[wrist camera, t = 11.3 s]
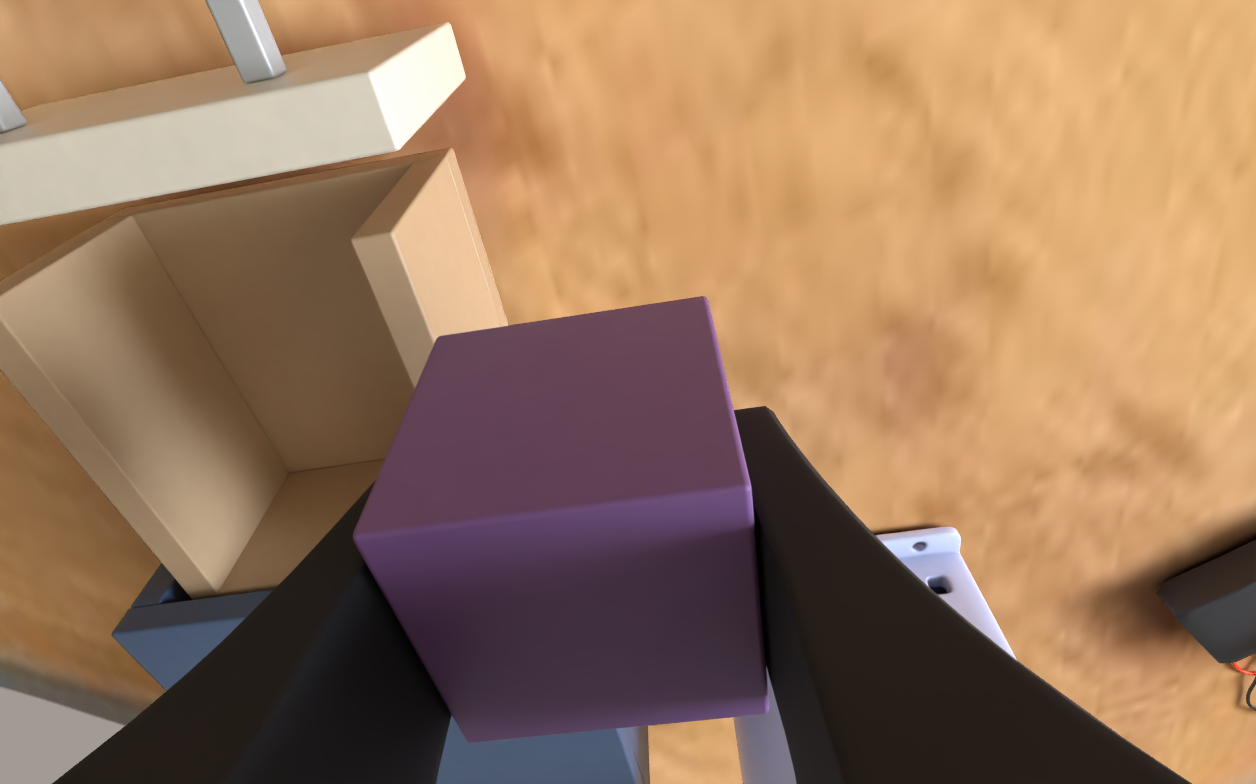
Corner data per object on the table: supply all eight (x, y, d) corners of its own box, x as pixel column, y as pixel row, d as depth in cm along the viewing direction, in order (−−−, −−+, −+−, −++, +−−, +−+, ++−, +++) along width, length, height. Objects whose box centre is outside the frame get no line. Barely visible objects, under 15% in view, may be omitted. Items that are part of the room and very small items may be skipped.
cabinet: (250, 435, 22) (109, 634, 16) (581, 385, 22) (565, 577, 15) (391, 660, 30) (330, 859, 23) (644, 630, 29) (651, 829, 22)
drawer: (-134, -165, 13) (-566, -210, 8) (363, -288, 12) (197, -419, 7) (270, 474, 22) (175, 625, 18) (567, 430, 21) (553, 578, 17)
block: (706, 293, 10) (752, 486, 6) (729, 496, 12) (770, 715, 9) (436, 334, 10) (348, 537, 7) (506, 524, 12) (465, 746, 9)
